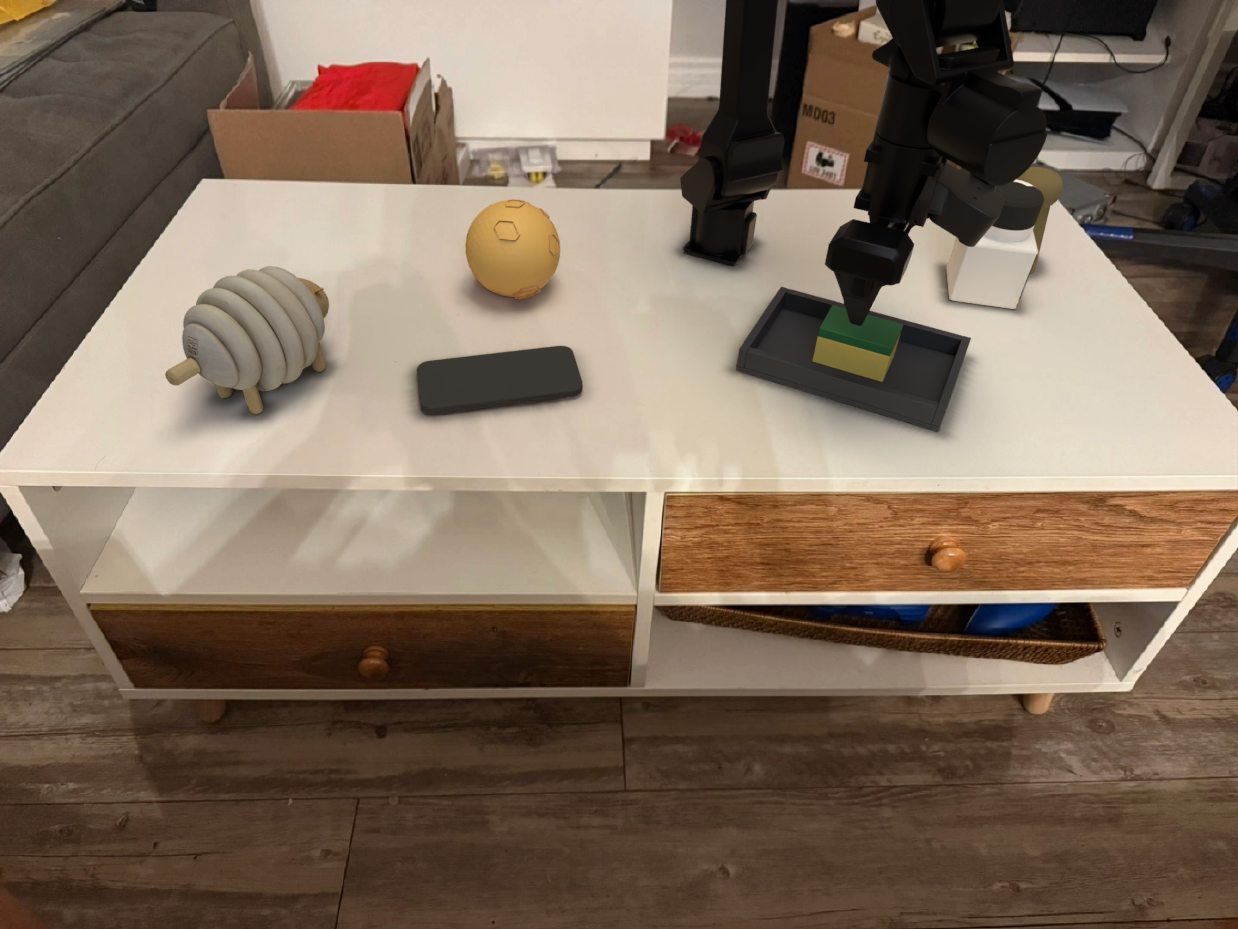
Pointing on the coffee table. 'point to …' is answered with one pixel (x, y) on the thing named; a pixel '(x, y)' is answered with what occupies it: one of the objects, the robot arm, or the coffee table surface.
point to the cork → (1051, 191)
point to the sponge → (857, 344)
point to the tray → (905, 393)
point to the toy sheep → (253, 333)
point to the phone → (498, 379)
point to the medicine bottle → (999, 253)
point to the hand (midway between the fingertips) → (869, 299)
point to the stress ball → (513, 248)
